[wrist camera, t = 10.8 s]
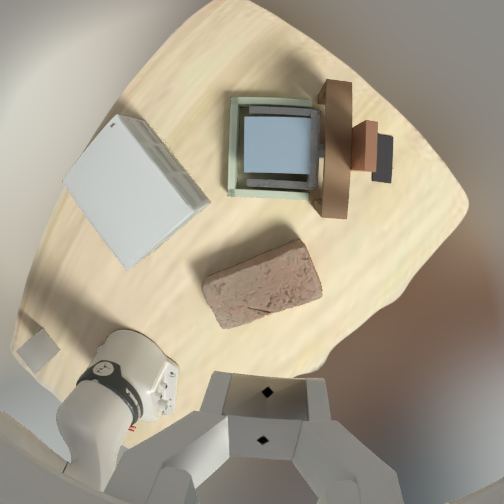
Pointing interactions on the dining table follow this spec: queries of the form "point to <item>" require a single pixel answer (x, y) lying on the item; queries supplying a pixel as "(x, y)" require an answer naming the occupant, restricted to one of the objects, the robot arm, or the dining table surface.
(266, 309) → the brick
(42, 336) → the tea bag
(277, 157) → the block
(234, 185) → the green hollow frame
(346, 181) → the tunnel
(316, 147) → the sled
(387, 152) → the dark grey flat block
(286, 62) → the dining table surface
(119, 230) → the supplement box
